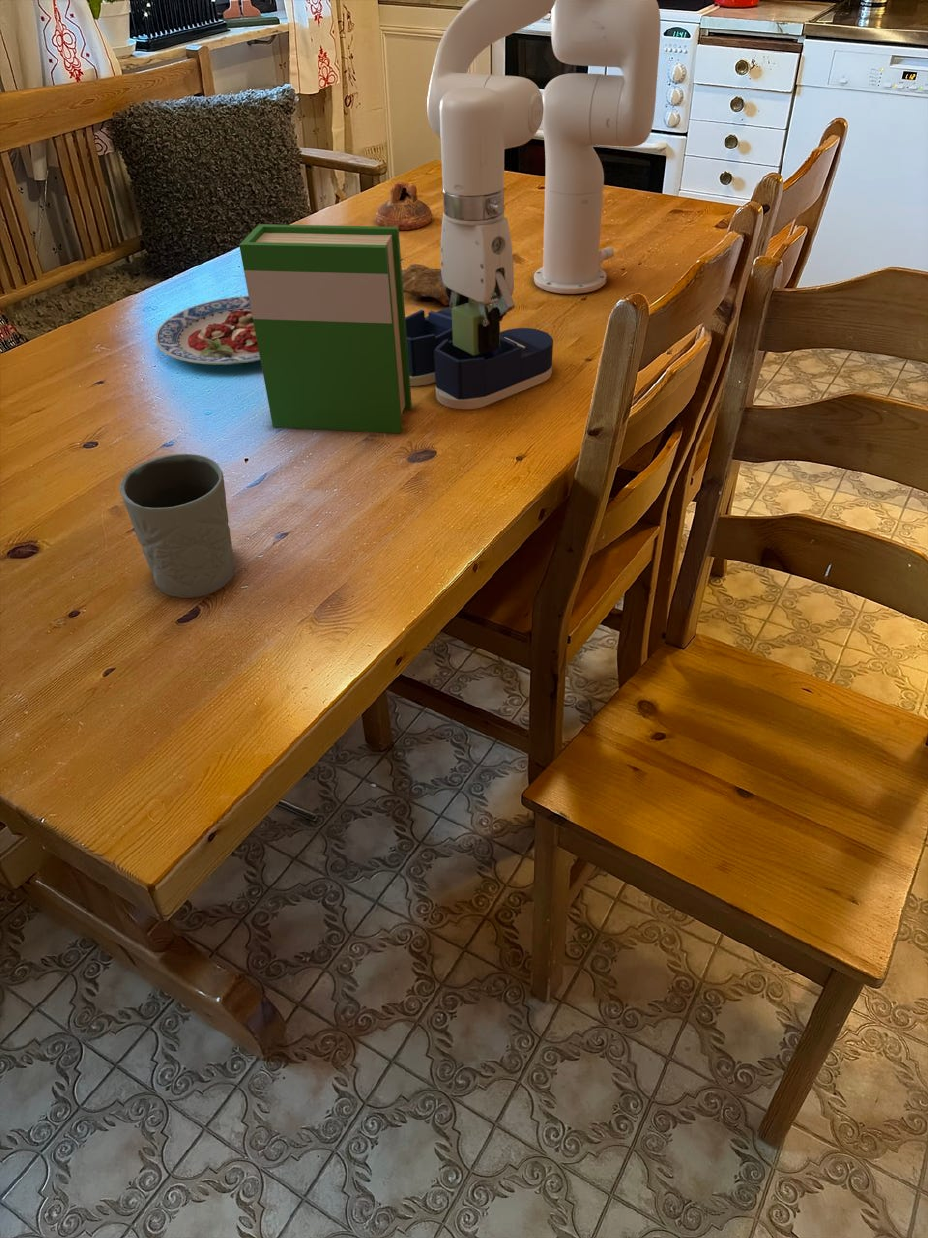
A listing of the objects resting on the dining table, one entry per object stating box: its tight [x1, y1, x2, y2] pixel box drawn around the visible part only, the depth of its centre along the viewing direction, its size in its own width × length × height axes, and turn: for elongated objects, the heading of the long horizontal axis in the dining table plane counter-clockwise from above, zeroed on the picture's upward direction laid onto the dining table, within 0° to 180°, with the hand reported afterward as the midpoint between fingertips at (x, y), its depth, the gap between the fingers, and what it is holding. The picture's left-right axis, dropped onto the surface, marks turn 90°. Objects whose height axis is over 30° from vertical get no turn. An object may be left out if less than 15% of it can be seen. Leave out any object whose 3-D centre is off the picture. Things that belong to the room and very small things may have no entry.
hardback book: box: [238, 223, 413, 434], centre depth 117 cm, size 18×7×24 cm, turn 81°
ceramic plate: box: [154, 295, 261, 365], centre depth 144 cm, size 26×26×3 cm
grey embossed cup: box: [119, 453, 236, 599], centre depth 95 cm, size 10×10×12 cm
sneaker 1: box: [405, 306, 453, 387], centre depth 135 cm, size 19×9×7 cm, turn 139°
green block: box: [452, 300, 501, 355], centre depth 123 cm, size 5×5×5 cm
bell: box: [374, 181, 433, 231], centre depth 185 cm, size 12×12×7 cm
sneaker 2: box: [434, 327, 554, 411], centre depth 129 cm, size 19×9×7 cm, turn 128°
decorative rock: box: [402, 263, 450, 306], centre depth 156 cm, size 11×4×15 cm
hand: (476, 343), depth 125 cm, fingers closed on green block, 4 cm apart
